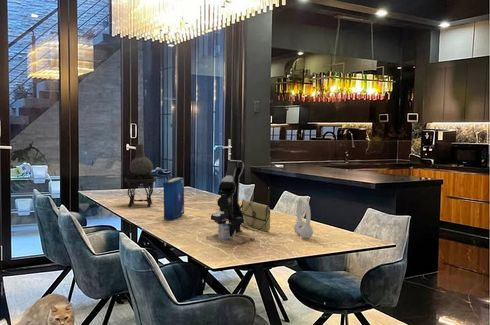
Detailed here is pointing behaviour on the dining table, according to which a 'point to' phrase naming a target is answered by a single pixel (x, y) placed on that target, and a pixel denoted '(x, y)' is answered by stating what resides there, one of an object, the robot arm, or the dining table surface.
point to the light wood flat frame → (213, 237)
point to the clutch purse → (256, 215)
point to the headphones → (301, 226)
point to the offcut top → (241, 238)
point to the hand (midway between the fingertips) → (226, 235)
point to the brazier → (140, 175)
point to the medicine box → (225, 232)
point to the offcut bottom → (241, 242)
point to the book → (173, 198)
